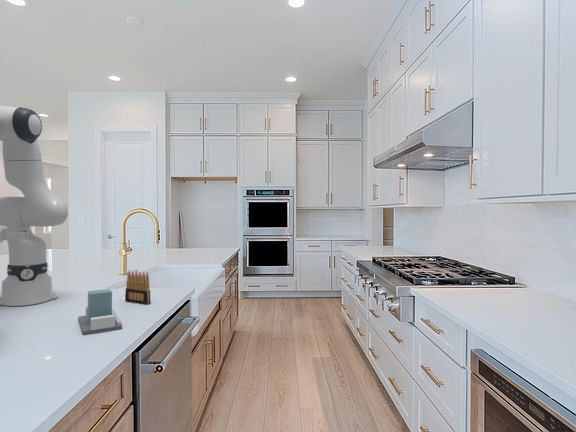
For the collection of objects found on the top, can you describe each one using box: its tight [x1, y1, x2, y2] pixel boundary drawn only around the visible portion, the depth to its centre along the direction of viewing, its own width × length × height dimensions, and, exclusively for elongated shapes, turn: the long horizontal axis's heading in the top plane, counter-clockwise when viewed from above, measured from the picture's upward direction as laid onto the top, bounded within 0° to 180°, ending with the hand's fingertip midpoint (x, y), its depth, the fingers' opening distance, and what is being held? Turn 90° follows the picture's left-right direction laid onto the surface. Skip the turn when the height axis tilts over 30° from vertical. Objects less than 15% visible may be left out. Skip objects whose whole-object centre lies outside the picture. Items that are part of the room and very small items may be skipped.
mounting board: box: [77, 305, 123, 336], centre depth 105 cm, size 16×10×4 cm, turn 35°
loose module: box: [87, 288, 113, 325], centre depth 105 cm, size 4×6×9 cm
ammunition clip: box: [124, 270, 151, 306], centre depth 130 cm, size 11×2×12 cm, turn 69°
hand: (26, 233), depth 94 cm, fingers open, 8 cm apart
